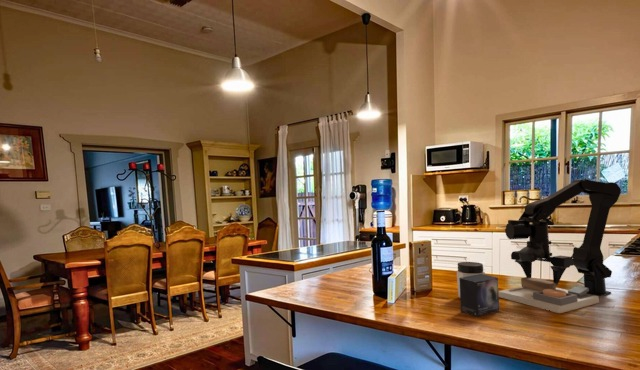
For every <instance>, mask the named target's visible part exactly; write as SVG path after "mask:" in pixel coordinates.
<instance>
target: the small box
mask: <svg viewBox="0 0 640 370" xmlns="http://www.w3.org/2000/svg"><path fill="white" fill-rule="evenodd" d="M459 280H460V298H459V300H460V312H462V313H465V314H468V315H471V316H473V317H477V318H478V317H482V316H485V315H489V314H492V313H497V312H500V309H501V308H500V297H499V291H500V290H499V277H497V276H494V275H493V276H492V275H488V274H486V273H485V274H477V275H472V276H466V277H461V278H459Z"/></svg>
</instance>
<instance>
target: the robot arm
mask: <svg viewBox="0 0 640 370" xmlns="http://www.w3.org/2000/svg"><path fill="white" fill-rule="evenodd" d="M582 193H583V194H585V195H586V194H587V195H588V199H589V202H590V205H591V208H590V213H589V217H588V219H587V220H588V221H587V226H586V228H585V231H584V232H585V233H584V235H583V241H582V244H581V245H580V246H579V247H576V246H574V247H573V248H572V249H573V250H572V255H571V256H567V255H554V256H553V253H552V252H550V251H551V250H550V245H552V240H549V238H550V237H549V226H554V225H555V223H554V222H553V221H551V220H550V219H549V217H550V216H552V214H553V213H555V211H556V209H557V208H558V207H559V206H561V205H563V204H564V203H566V202H568V201H569V200H571V199H573V198H574V197H576V196H578V195H579V194H582ZM621 193H622V189H621V187H620V186H619V185H618V184H617V183H616V182H613V181H611V182H610V181H609V182H608V181H607V182H604V181H598V180H597V181H596V180H591V179H587V178H579V179H578V178H577V179H574V180H572V182H570V183H569V184H567V185H565V186H563V187H562V188H560V189H558V190H557V191H555V192H554V193H552V194H550V195H548V196H547V197H545V198H541V199H537V200H535V201H531V202H529V203H527V204H526V205H525V206H524V209H523V212H522V214H521V216H520V217H519V218H518V220H514V219H508V220H507V224H506V226H505V229H504V231H505V236H506V237H507V239H509V240H526V239H529V240H528V241H526V246H525V247H523V248H521V249H520V250H515V251H512V252H511V254H510V258H511V260H514V262H515V263H517V264H519V266H521V268H522V270H523V271H522V272H524V274H525V275H524V276H525V277H528V278H532V274H533V273H532V272H533V270H532V269H533V262H534V263H535V262H536V261H540V262H546V263H550V264H551V265H550V266H549V267H550V269H551V271H552V279H553V280H552V282H554V283H555V285H556V287H557V286H558V285H559V283H560V281H561V278H562V276H563V275H564V273H565V271H566V269H567V268H570V267H571V266H574V267H575V269H576V270H577V273H578V274H583V284H584V285H583V287H586V288H589V291H588V292H587V293H586V294H590V295H594V296H598V297H599V296H600V297H601V296H607V295H610V294H612V291H608V290H607V288H606V279H608V278H611V277H612V273H613V271H612V270H611V269H610V268H609V267H608V266H606V265H605V264H604V254H603V252H602V250H601V246H602V243H603V238H604V236H605V235H604V234H605V230H606V225H607V221H608V218H609V213H610V209H612V207H613V206H614V205H615V204H617V202H618V200H619V197H620V195H621Z"/></svg>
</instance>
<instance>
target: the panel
mask: <svg viewBox="0 0 640 370" xmlns="http://www.w3.org/2000/svg"><path fill="white" fill-rule="evenodd" d="M556 289H557V290H562V291H565V292H566V296H565V297H561V298H557V297H553V296H548V295H544V294H543V291H538V290H534V289H529V288H525V287H522V286H517V287H512V288H508V289H503V290H498V291H499V298H502V299H504V300H509V301H512V302H517V303H520V304H524V305H528V306H530V307H535V308H538V309H542V310H545V309H546V310H547V311H549V310H550V311H549V312H553V313H557V314H562V313H566V312H569V311H574V310H577V309H581V308H585V307H589V306H591V305H595V304H599V303H600V300H599V299H600V298H599V295H594V294H589V293H585V294H583V295H582V296H577V295H575V294H570V293H568V290H569V289H564V288H560V287H556ZM546 310H545V311H546Z"/></svg>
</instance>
